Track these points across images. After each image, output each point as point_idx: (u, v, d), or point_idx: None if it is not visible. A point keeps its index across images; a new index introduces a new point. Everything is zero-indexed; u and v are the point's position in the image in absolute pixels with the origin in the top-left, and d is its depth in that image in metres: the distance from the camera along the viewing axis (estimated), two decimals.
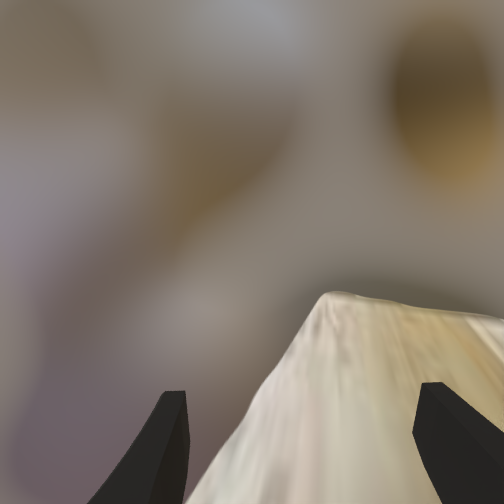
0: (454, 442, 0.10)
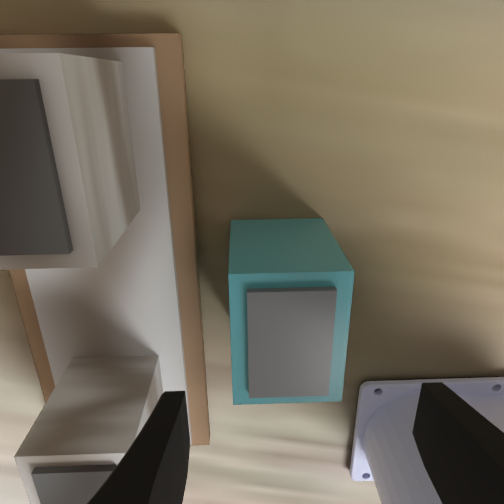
0: (453, 442, 0.10)
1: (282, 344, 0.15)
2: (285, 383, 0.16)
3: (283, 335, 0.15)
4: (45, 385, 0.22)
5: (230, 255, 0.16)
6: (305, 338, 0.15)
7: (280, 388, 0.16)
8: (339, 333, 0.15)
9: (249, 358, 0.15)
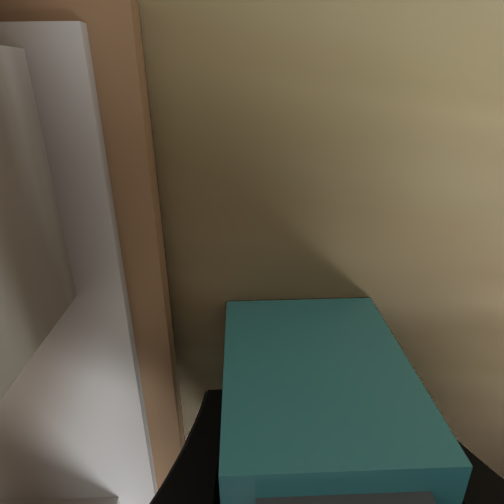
0: None
1: None
2: None
3: None
4: None
5: (224, 405, 0.09)
6: None
7: None
8: None
9: None
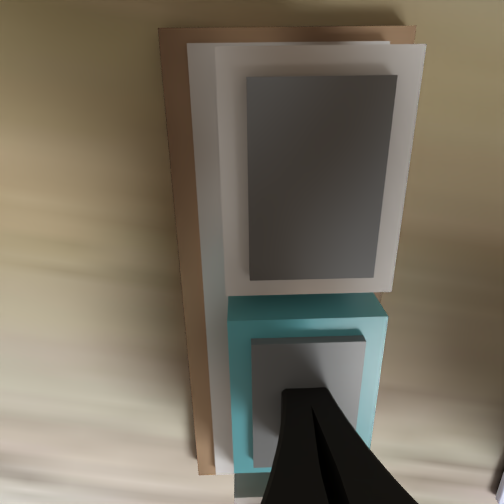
0: (319, 447, 0.10)
1: None
2: None
3: None
4: (197, 408, 0.21)
5: None
6: None
7: None
8: (367, 391, 0.12)
9: (254, 422, 0.12)
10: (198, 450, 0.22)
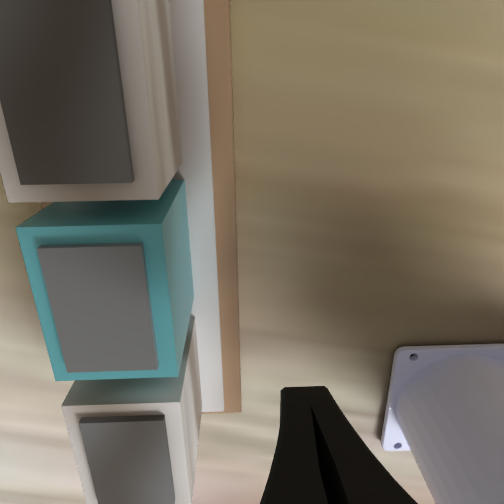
0: (318, 447, 0.10)
1: (91, 310, 0.13)
2: (105, 355, 0.14)
3: (90, 299, 0.13)
4: None
5: (41, 211, 0.14)
6: (116, 302, 0.13)
7: (100, 361, 0.14)
8: (159, 298, 0.14)
9: (57, 326, 0.14)
10: None
